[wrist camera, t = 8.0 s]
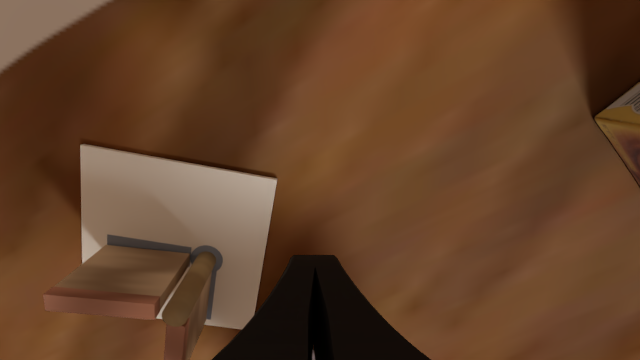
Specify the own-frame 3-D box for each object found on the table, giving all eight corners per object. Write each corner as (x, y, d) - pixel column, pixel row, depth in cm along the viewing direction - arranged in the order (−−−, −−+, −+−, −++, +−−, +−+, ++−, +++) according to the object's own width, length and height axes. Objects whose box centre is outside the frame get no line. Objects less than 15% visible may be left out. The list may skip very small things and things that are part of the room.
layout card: (252, 327, 22) (251, 331, 22) (85, 305, 21) (82, 309, 21) (277, 178, 19) (276, 180, 19) (83, 143, 18) (79, 145, 18)
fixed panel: (210, 317, 22) (180, 390, 17) (192, 314, 22) (156, 387, 16) (218, 250, 20) (188, 307, 15) (199, 247, 20) (162, 304, 15)
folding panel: (189, 252, 20) (154, 304, 15) (189, 265, 20) (154, 320, 15) (105, 243, 19) (43, 294, 15) (106, 257, 20) (45, 310, 15)
